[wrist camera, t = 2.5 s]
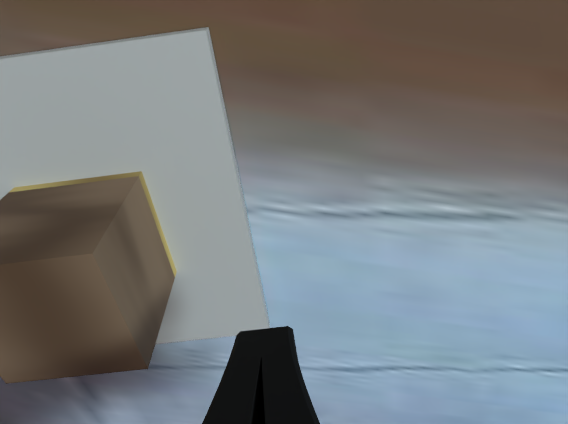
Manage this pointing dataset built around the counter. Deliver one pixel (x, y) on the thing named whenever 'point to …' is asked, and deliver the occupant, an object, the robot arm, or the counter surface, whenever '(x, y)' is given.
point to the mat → (144, 159)
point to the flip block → (81, 278)
